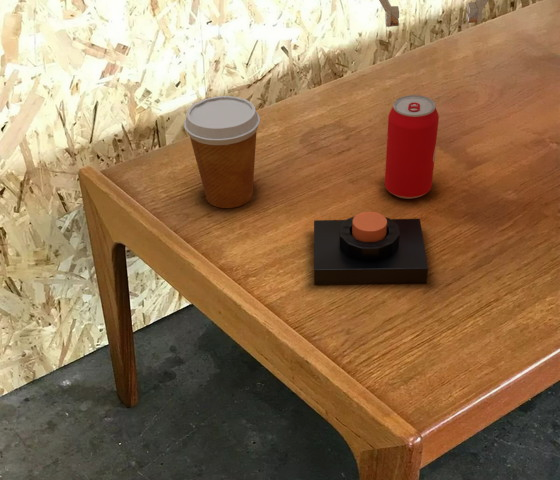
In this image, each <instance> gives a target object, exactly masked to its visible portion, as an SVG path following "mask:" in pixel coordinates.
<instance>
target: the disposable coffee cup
mask: <svg viewBox="0 0 560 480" xmlns="http://www.w3.org/2000/svg"><path fill="white" fill-rule="evenodd" d="M183 122H184V123H183V127H184V130H185V132H186V134H187V135H188V136H189V139H190V142H191V147H192V151H193V154H194V157H195V161H196V165H197V169H198V173H199V176H200V180H201V184H202V187H203V191H204V194H205V199H206V201H207V203H209V204H210V205H212V206H214V207H216V208H221V209H233V208H239V207H241V206H244V205H246V204H247V203H248V202H250V201H251V200H252V198H253V196H254V193H253V192H254V176H255V164H256V163H255V161H256V147H257V146H256V145H257V131H258V130H259V129H258V128H259V126H260V123H261V118H260V115H259V112H257V110H256V107H255V105H254V104H253V103H252V101H250V100H248V99H246V98H243V97H239V96H233V95H219V96H212V97H208V98H204V99H201V100H199V101H196V102H194V103H193V104H192V105H191V106H189V108H188V109H187V112H186V117H185V119H184V121H183Z"/></svg>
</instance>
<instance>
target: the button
mask: <svg viewBox="0 0 560 480" xmlns="http://www.w3.org/2000/svg"><path fill="white" fill-rule="evenodd" d="M354 216H355V217H354ZM354 216H353V217H354V218H353V221H352V235H353V237H354V238H355V239H356V240H359V241H362V242H377V241H380V240H383V239H384V238H385V237H386V232H387V219H386V218H385V217H386V216H385V215H384V214H382V213H380V212H376V211H363V212H360V213H358V214H356V215H354Z"/></svg>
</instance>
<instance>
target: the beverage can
mask: <svg viewBox="0 0 560 480" xmlns="http://www.w3.org/2000/svg"><path fill="white" fill-rule="evenodd" d="M436 106H437V104H436V101H434V100H433V99H432V98H430V97H428V96H425V95H419V94H409V95H408V94H407V95H404V96H400V97H398V98H396V99H395V100H394V101H393V104H392V107H391V109H390V110H389V113H388V116H387V134H386V135H387V136H386V153H385V155H386V156H385V170H384V187H385V189H386V190H387V191H388V193H390V194H391V195H394V196H395V197H398V198H400V199H406V200H409V199H411V200H412V199H417V198H420V197H422V196H424V195H426V194H427V193H429V192H430V191H431V190H432V186H433V178H434V169H435V159H436V148H437V139H438V130H439V128H438V127H439V122H440V121H439V120H440V116H439V113H438V110H437V108H436Z"/></svg>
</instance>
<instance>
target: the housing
mask: <svg viewBox="0 0 560 480" xmlns="http://www.w3.org/2000/svg"><path fill="white" fill-rule="evenodd" d="M355 216H356V215H354V216H352V217H348V218H347V219H318V220H315V219H314V220H313V285H314V286H316V285H317V286H318V285H320V286H321V285H322V286H323V285H329V286H330V285H395V284H396V285H398V284H399V285H400V284H402V285H403V284H405V285H406V284H407V285H408V284H409V285H410V284H427V282H428V274H429V273H428V272H429V264H428V260H427V252H426V247H425V242H424V235H423V229H422V223H421V218H390V217H387V216H384V217H385V218H386V219H387V232H386V237H385V238H384V239H383V240H380V241H377V242H362V241H359V240H356V239H355V238H354V237H353V235H352V221H353V218H354V217H355Z"/></svg>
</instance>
